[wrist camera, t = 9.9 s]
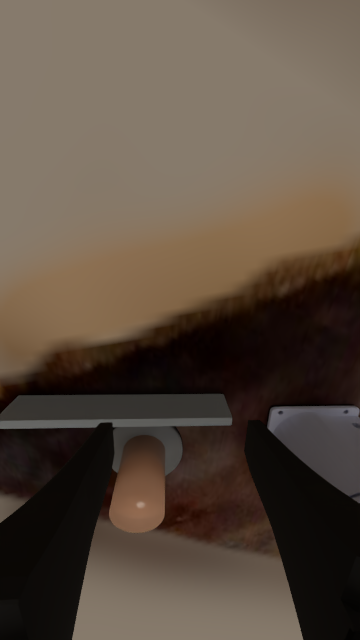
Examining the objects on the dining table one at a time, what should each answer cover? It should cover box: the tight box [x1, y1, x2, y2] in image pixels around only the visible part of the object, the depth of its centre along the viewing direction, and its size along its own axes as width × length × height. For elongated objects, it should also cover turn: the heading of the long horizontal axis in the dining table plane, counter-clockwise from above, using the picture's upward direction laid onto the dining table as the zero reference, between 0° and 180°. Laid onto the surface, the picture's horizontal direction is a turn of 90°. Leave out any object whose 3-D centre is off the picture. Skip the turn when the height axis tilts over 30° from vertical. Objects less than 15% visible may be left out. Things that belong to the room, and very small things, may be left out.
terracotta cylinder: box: [109, 435, 165, 533], centre depth 22 cm, size 4×4×6 cm
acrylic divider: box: [0, 394, 232, 429], centre depth 22 cm, size 20×1×4 cm, turn 88°
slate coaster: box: [112, 426, 183, 475], centre depth 25 cm, size 8×8×1 cm
